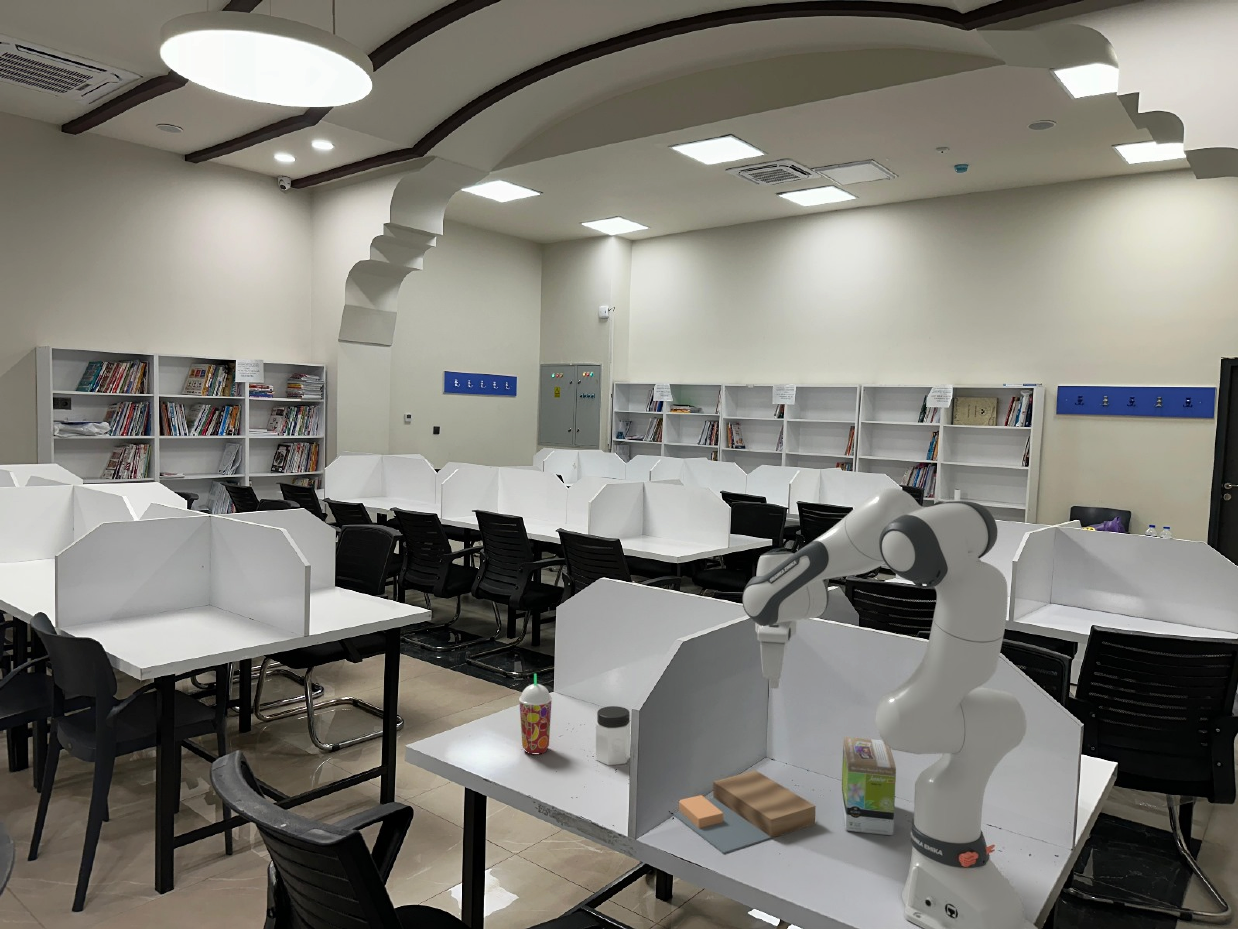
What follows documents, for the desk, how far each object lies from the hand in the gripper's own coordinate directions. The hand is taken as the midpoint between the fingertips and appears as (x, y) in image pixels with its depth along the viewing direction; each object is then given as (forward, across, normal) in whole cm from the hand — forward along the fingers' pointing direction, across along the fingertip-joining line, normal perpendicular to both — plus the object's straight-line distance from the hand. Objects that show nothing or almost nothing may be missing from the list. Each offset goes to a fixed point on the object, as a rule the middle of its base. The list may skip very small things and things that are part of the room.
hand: (774, 686), depth 184 cm
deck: (+27, +3, -2) cm, 27 cm away
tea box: (+27, 0, +20) cm, 34 cm away
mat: (+27, +12, -11) cm, 31 cm away
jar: (+27, -15, -41) cm, 51 cm away
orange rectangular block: (+25, +10, -15) cm, 30 cm away
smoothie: (+27, -14, -61) cm, 68 cm away
